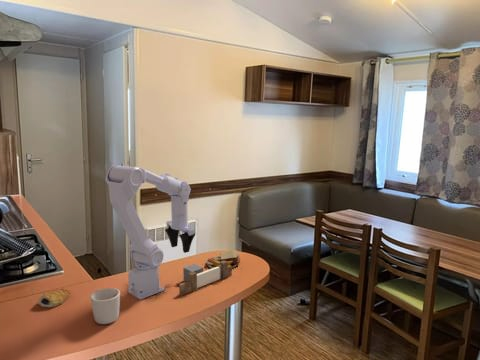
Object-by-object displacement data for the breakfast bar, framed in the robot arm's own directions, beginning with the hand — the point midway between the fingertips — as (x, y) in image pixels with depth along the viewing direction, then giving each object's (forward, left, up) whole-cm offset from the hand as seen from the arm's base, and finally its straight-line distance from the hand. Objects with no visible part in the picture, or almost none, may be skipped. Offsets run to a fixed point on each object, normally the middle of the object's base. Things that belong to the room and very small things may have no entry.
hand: (180, 249), depth 137 cm
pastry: (-41, +10, -10) cm, 44 cm away
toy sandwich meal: (+17, -5, -10) cm, 20 cm away
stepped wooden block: (+1, -14, -9) cm, 17 cm away
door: (+2, -14, -9) cm, 17 cm away
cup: (-34, -10, -10) cm, 37 cm away
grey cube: (0, -8, -10) cm, 13 cm away
